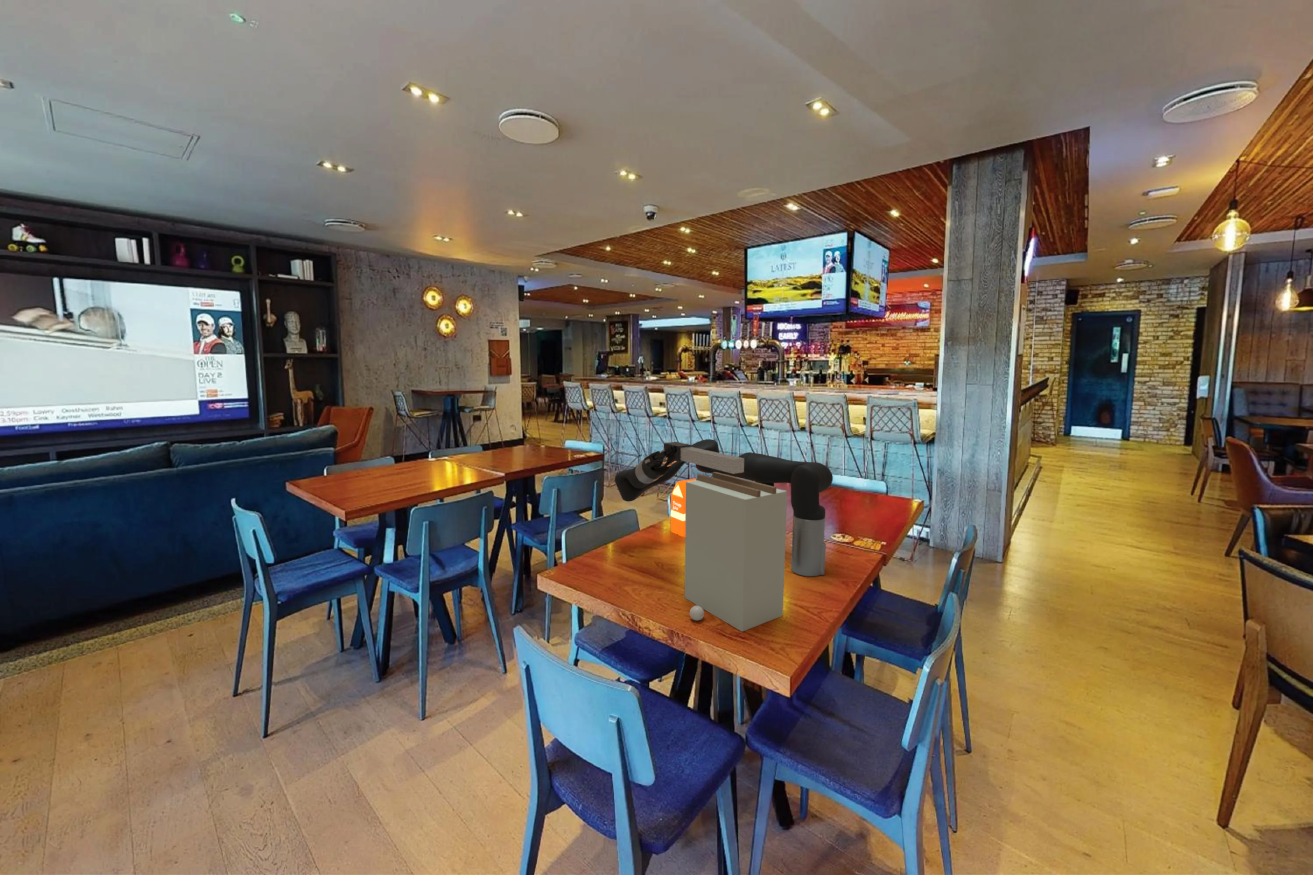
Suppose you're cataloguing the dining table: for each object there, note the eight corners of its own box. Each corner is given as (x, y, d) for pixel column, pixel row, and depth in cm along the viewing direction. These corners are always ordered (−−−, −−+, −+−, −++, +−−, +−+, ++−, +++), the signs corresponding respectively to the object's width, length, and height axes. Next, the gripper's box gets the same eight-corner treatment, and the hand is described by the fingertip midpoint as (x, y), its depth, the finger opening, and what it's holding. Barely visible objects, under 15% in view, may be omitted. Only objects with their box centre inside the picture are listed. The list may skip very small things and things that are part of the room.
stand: (683, 596, 142) (684, 475, 138) (722, 584, 150) (724, 469, 145) (742, 631, 124) (745, 493, 119) (782, 615, 132) (787, 485, 127)
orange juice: (701, 532, 196) (702, 480, 194) (683, 537, 191) (683, 483, 189) (689, 527, 203) (689, 476, 200) (670, 531, 198) (670, 479, 195)
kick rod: (663, 458, 153) (663, 443, 152) (675, 456, 155) (676, 441, 155) (732, 475, 129) (732, 458, 129) (745, 473, 132) (745, 456, 131)
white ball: (703, 616, 131) (704, 603, 131) (703, 623, 128) (704, 609, 127) (689, 615, 131) (690, 602, 131) (689, 622, 128) (689, 609, 128)
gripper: (628, 459, 160) (656, 437, 146) (667, 454, 168) (696, 433, 154) (635, 482, 157) (664, 462, 144) (673, 476, 165) (704, 457, 152)
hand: (680, 447), depth 149 cm, fingers closed on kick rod, 4 cm apart
